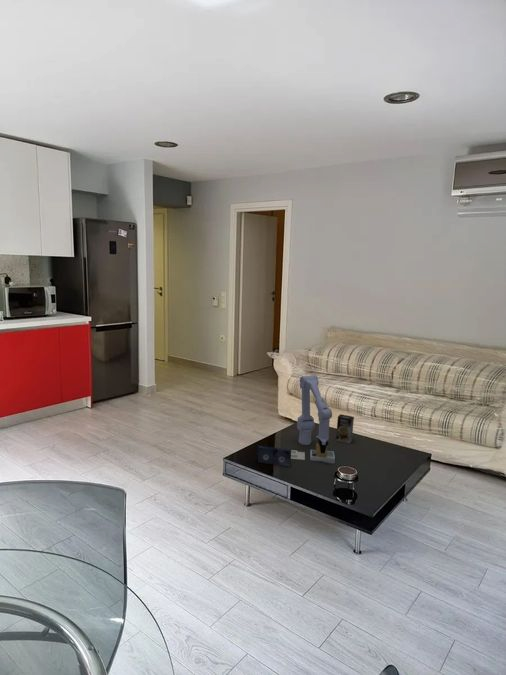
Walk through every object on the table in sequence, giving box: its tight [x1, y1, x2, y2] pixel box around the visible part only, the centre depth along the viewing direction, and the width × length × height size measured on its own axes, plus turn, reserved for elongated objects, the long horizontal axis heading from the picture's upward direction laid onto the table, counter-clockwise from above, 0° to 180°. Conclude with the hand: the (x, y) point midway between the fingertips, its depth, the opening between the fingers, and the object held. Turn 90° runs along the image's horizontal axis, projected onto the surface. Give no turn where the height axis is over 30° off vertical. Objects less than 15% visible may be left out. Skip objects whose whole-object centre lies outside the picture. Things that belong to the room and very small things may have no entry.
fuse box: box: [290, 449, 306, 461], centre depth 262 cm, size 10×18×2 cm, turn 84°
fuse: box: [315, 442, 328, 457], centre depth 260 cm, size 3×6×7 cm, turn 84°
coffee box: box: [335, 413, 355, 444], centre depth 287 cm, size 9×6×16 cm
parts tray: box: [309, 449, 336, 465], centre depth 260 cm, size 10×14×3 cm
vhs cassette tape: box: [257, 445, 292, 468], centre depth 250 cm, size 18×3×10 cm, turn 74°
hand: (322, 451), depth 260 cm, fingers closed on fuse, 3 cm apart
